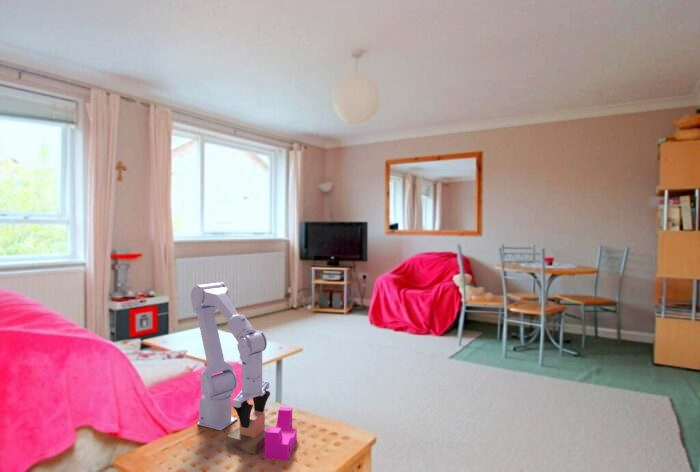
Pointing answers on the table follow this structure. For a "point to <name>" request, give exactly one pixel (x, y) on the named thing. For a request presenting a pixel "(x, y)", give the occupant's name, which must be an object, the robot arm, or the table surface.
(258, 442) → the taupe block
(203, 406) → the robot arm
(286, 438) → the toy block
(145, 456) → the table surface
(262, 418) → the terracotta cube
